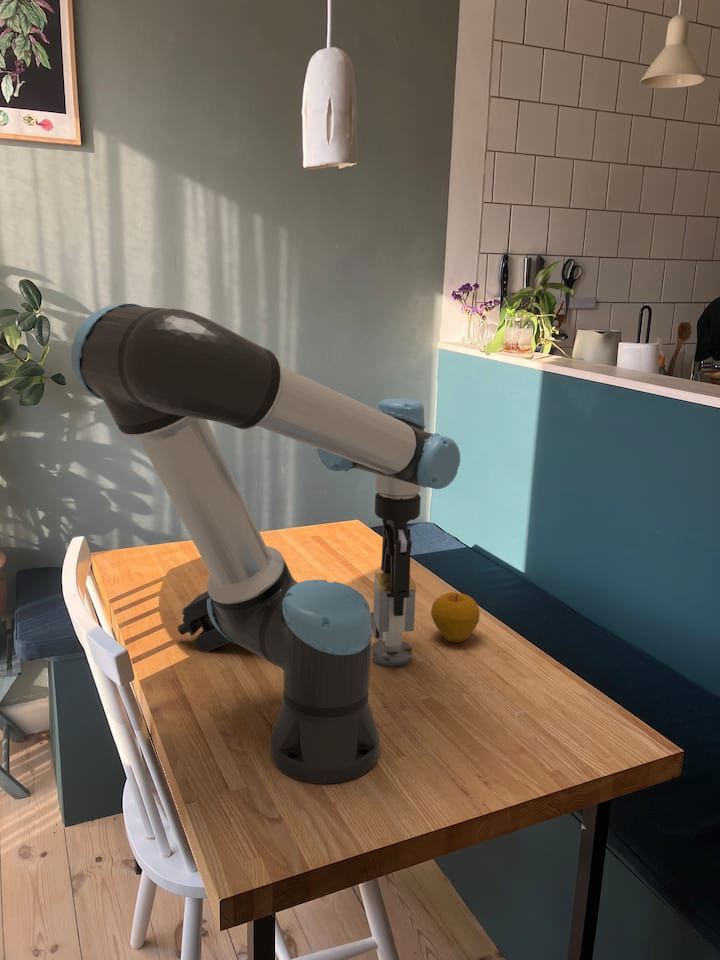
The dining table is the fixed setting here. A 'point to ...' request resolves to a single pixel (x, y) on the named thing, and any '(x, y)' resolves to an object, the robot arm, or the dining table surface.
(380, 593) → the lidded square canister
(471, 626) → the apple
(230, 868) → the dining table surface
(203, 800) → the dining table surface
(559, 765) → the dining table surface
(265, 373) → the robot arm
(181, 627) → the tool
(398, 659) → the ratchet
